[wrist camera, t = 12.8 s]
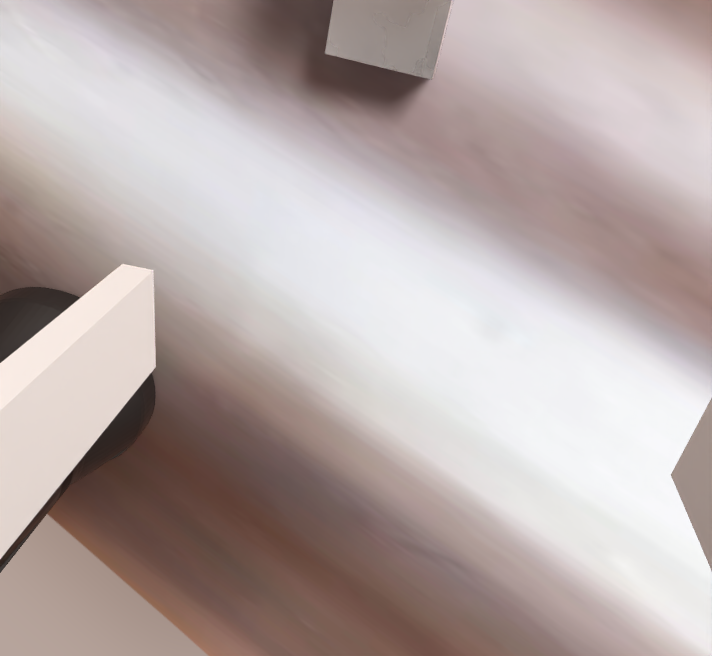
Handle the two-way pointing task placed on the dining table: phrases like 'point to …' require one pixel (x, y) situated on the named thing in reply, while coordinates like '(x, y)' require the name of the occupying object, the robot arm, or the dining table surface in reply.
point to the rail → (390, 33)
